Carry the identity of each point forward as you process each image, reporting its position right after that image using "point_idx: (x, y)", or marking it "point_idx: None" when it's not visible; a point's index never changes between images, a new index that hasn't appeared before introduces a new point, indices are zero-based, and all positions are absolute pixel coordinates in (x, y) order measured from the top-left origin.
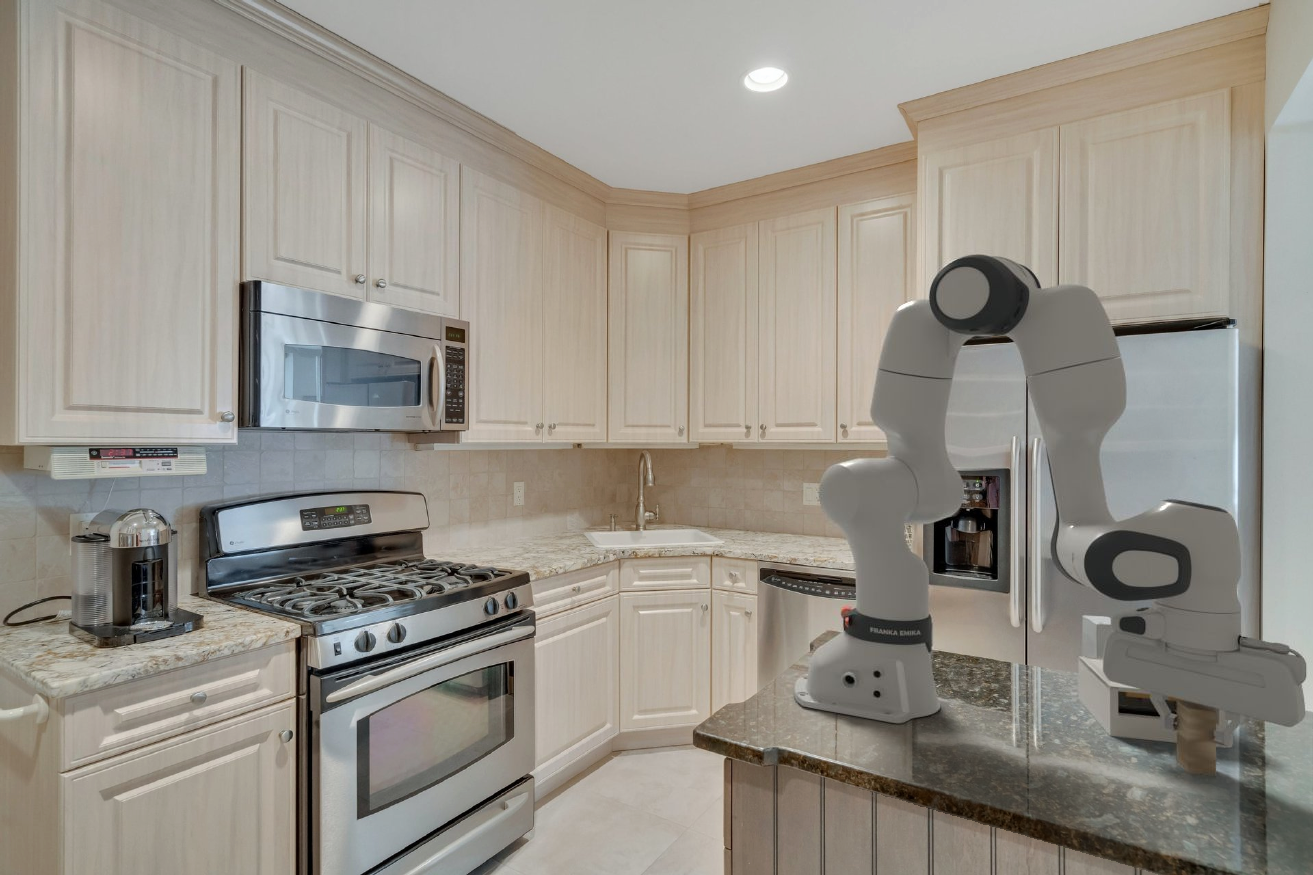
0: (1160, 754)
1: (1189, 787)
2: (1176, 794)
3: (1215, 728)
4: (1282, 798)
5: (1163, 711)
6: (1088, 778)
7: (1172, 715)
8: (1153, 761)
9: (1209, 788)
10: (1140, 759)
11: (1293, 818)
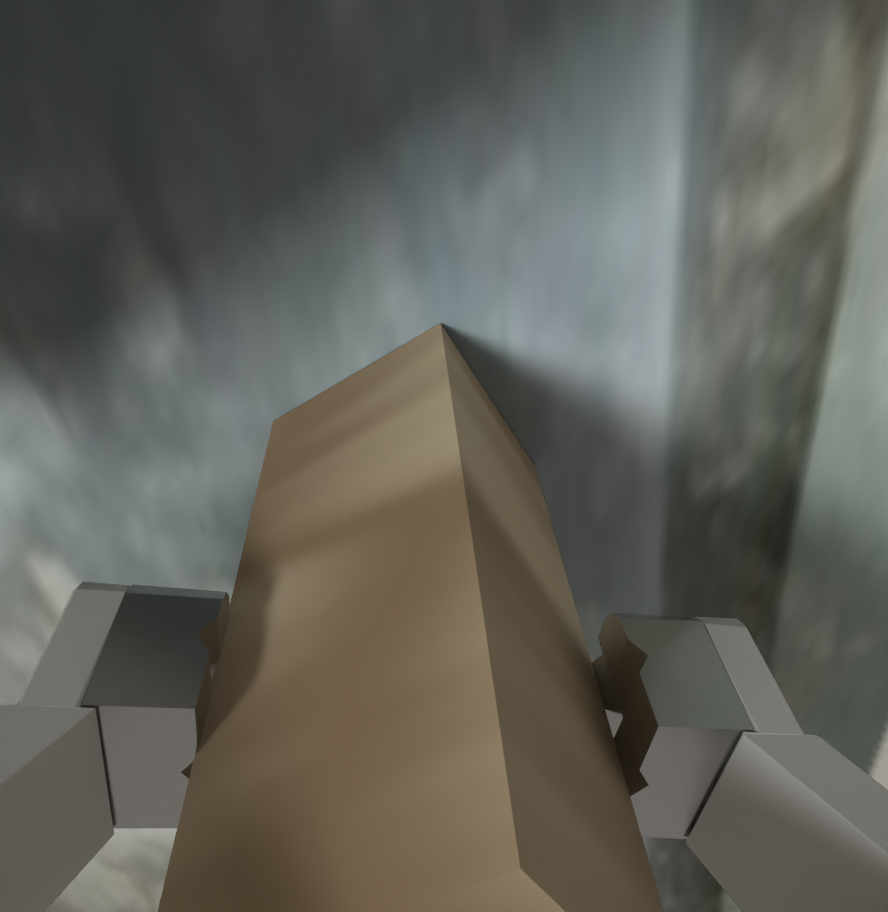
0: (132, 365)
1: None
2: None
3: (625, 797)
4: (881, 509)
5: (65, 884)
6: (65, 908)
7: (146, 757)
8: (161, 533)
9: None
10: (90, 563)
11: (870, 691)
